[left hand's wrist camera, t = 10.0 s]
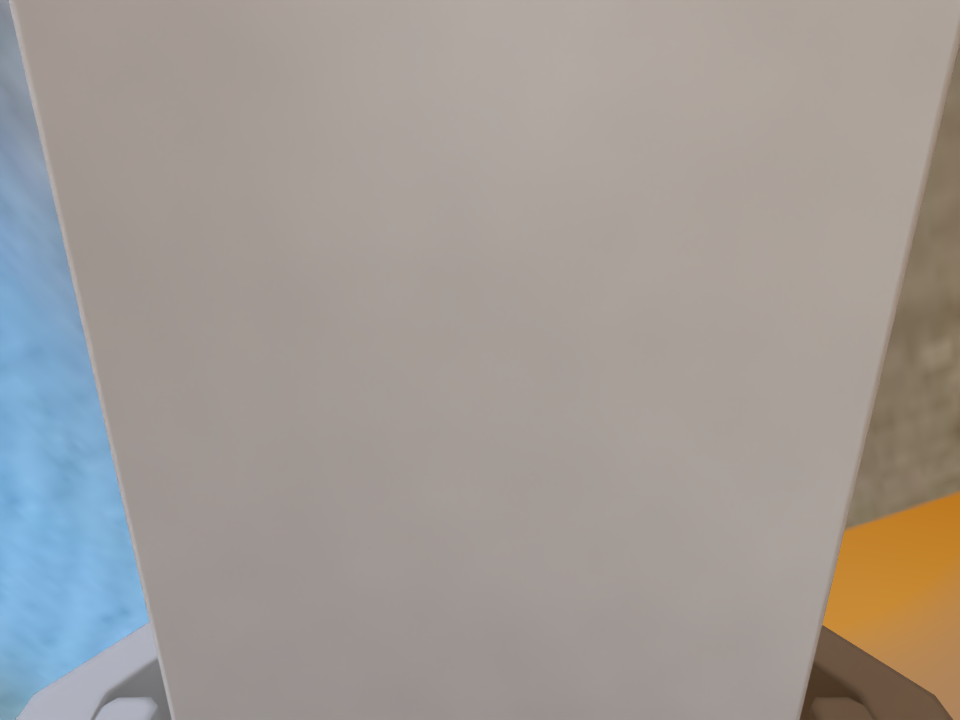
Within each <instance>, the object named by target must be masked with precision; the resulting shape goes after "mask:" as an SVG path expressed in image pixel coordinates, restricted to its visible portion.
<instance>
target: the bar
mask: <svg viewBox="0 0 960 720" xmlns="http://www.w3.org/2000/svg"><path fill="white" fill-rule="evenodd" d="M9 4H10V8H11V13H12V17H13V22H14V26H15V30H16V35H17V39H18V44H19V48H20V52H21V57H22V61H23V66H24V70H25V74H26V79H27V83H28V88H29V92H30V97H31V101H32V105H33V110H34V114H35V119H36V123H37V127H38V132H39V136H40V141H41V145H42V149H43V154H44V158H45V163H46V167H47V172H48V176H49V180H50V185H51V189H52V194H53V198H54V202H55V207H56V211H57V216H58V220H59V224H60V229H61V233H62V238H63V242H64V246H65V251H66V255H67V260H68V264H69V269H70V273H71V277H72V282H73V286H74V291H75V295H76V299H77V304H78V308H79V313H80V317H81V321H82V326H83V330H84V335H85V339H86V343H87V348H88V352H89V357H90V361H91V366H92V370H93V374H94V379H95V383H96V388H97V392H98V396H99V401H100V405H101V410H102V414H103V418H104V423H105V427H106V432H107V436H108V441H109V445H110V449H111V454H112V458H113V463H114V467H115V471H116V476H117V480H118V485H119V489H120V493H121V498H122V502H123V507H124V511H125V515H126V520H127V524H128V529H129V533H130V538H131V542H132V546H133V551H134V555H135V560H136V564H137V568H138V573H139V577H140V582H141V586H142V590H143V595H144V599H145V604H146V608H147V613H148V617H149V621H150V626H151V630H152V635H153V639H154V643H155V648H156V652H157V657H158V661H159V665H160V670H161V674H162V679H163V683H164V687H165V692H166V696H167V701H168V705H169V710H170V714H171V718H172V720H800V716H801V712H802V708H803V703H804V699H805V695H806V691H807V686H808V682H809V678H810V674H811V669H812V665H813V661H814V657H815V653H816V648H817V644H818V640H819V636H820V631H821V627H822V623H823V619H824V614H825V610H826V606H827V602H828V598H829V593H830V589H831V585H832V581H833V576H834V572H835V568H836V564H837V560H838V555H839V551H840V547H841V543H842V538H843V534H844V530H845V526H846V521H847V517H848V513H849V509H850V505H851V500H852V496H853V492H854V488H855V483H856V479H857V475H858V471H859V467H860V462H861V458H862V454H863V450H864V445H865V441H866V437H867V433H868V428H869V424H870V420H871V416H872V412H873V407H874V403H875V399H876V395H877V390H878V386H879V382H880V378H881V374H882V369H883V365H884V361H885V357H886V352H887V348H888V344H889V340H890V335H891V331H892V327H893V323H894V319H895V314H896V310H897V306H898V302H899V297H900V293H901V289H902V285H903V280H904V276H905V272H906V268H907V264H908V259H909V255H910V251H911V247H912V242H913V238H914V234H915V230H916V226H917V221H918V217H919V213H920V209H921V204H922V200H923V196H924V192H925V187H926V183H927V179H928V175H929V171H930V166H931V162H932V158H933V154H934V149H935V145H936V141H937V137H938V133H939V128H940V124H941V120H942V116H943V111H944V107H945V103H946V99H947V94H948V90H949V86H950V82H951V78H952V73H953V69H954V65H955V61H956V56H957V52H958V48H959V44H960V0H9Z"/></svg>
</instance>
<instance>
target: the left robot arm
mask: <svg viewBox="0 0 960 720" xmlns="http://www.w3.org/2000/svg"><path fill="white" fill-rule="evenodd" d="M15 720H172V718H171V714H170V710H169V705H168V701H167V696H166V692H165V687H164V683H163V679H162V674H161V670H160V665H159V661H158V657H157V652H156V648H155V643H154V639H153V635H152V630H151V626H150V622H148V623H147V624H145V625H144V626H142V627H140V628H139V629H137V630H136V631H134V632H132V633H131V634H129V635H128V636H126V637H124V638H123V639H121V640H120V641H118V642H117V643H115V644H113V645H112V646H110V647H109V648H107V649H105V650H104V651H102V652H101V653H99V654H97V655H96V656H94V657H93V658H91V659H89V660H88V661H86V662H85V663H83V664H82V665H80V666H78V667H77V668H75V669H74V670H72V671H70V672H69V673H67V674H66V675H64V676H62V677H61V678H59V679H58V680H56V681H54V682H53V683H51V684H50V685H48V686H47V687H45V688H43V689H42V690H40V691H39V692H37V693H35V694H34V695H33V697H32V698H31V699H30V701H29V702H28V703H27V705H26V706H25V707H24V709H23V710H22V711H21V713H20V714H19V715H18V717H17V718H16V719H15ZM800 720H953V719H952V718H951V716H950V715H949V714H948V712H947V711H946V710H945V708H944V707H943V706H942V704H941V703H940V702H939V700H938V699H937V698H936V696H935V695H933V694H932V693H930V692H929V691H927V690H925V689H924V688H922V687H921V686H919V685H917V684H916V683H914V682H913V681H911V680H909V679H908V678H906V677H905V676H903V675H901V674H900V673H898V672H897V671H895V670H893V669H892V668H890V667H889V666H887V665H885V664H884V663H882V662H881V661H879V660H877V659H876V658H874V657H873V656H871V655H869V654H868V653H866V652H865V651H863V650H861V649H860V648H858V647H857V646H855V645H853V644H852V643H850V642H849V641H847V640H845V639H844V638H842V637H841V636H839V635H837V634H836V633H834V632H833V631H831V630H829V629H828V628H826V627H825V626H823V625H822V627H821V631H820V636H819V640H818V644H817V648H816V653H815V657H814V661H813V665H812V669H811V674H810V678H809V682H808V686H807V691H806V695H805V699H804V703H803V708H802V712H801V716H800Z"/></svg>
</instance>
